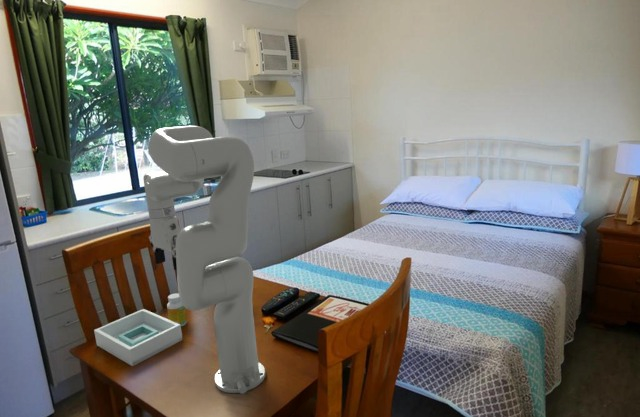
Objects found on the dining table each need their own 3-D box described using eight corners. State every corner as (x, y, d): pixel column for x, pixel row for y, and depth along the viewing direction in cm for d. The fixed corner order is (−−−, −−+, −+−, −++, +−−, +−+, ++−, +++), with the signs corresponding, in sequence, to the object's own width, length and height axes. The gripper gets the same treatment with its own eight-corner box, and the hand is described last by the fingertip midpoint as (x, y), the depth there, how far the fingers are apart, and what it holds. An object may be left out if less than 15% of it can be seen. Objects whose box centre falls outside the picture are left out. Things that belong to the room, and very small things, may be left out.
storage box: (182, 339, 130) (180, 324, 129) (132, 366, 118) (129, 349, 117) (145, 322, 143) (143, 308, 141) (96, 345, 130) (93, 330, 129)
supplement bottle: (182, 328, 138) (177, 299, 135) (166, 327, 139) (162, 299, 136) (190, 320, 143) (186, 292, 140) (175, 319, 144) (171, 292, 141)
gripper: (189, 212, 130) (196, 266, 134) (156, 206, 140) (164, 257, 144) (167, 218, 124) (175, 275, 128) (135, 212, 134) (143, 264, 138)
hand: (169, 265), depth 136 cm, fingers open, 9 cm apart
